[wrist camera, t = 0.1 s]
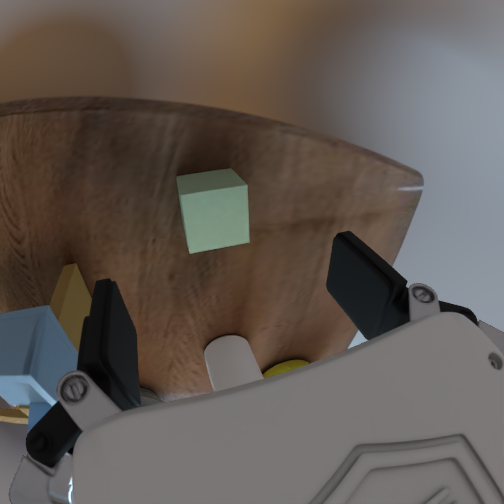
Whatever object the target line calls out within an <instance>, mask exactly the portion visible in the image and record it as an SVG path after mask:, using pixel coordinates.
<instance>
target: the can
mask: <svg viewBox="0 0 504 504" xmlns="http://www.w3.org/2000/svg"><path fill="white" fill-rule="evenodd" d="M204 357H205V361H206V365H207V369H208V372H209V376H210V380H211V383H212V387H213V390H214V392H216V391H220V390H224V389H228V388H232V387H236V386H239V385H243V384H247V383H250V382H254V381H257V380H261V379H264V378H263V376H262V373H261V371H260V369H259V367H258V364H257V362H256V360H255V357H254V355H253V353H252V350H251V348H250V346H249V343H248V342H247V340H246V339H244V338H243V337H240V336H237V335H225V336H221V337H219V338H216V339H215V340H213V341H212V342H210V343H209V345H208V346H207V347H206V349H205V351H204Z"/></svg>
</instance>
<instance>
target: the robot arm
mask: <svg viewBox="0 0 504 504" xmlns="http://www.w3.org/2000/svg"><path fill="white" fill-rule="evenodd" d="M406 284H407V280H406V279H404V278H403V277H402V276H401V275H400V274H399V273H398V272H397V271H396V270H395V269H394V268H392V267H391V266H390V265H389V264H388V263H387V262H386V261H385V260H384V259H382V258H381V257H380V256H379V255H378V254H377V253H376V252H374V251H373V250H372V249H371V248H370V247H369V246H367V245H366V244H365V243H364V242H363V241H361V240H360V239H359V238H358V237H357V236H355V235H354V234H353V233H352V232H350V231H346V232H340V233H338V234H337V235H336V237H334V239H333V246H332V252H331V259H330V265H329V271H328V277H327V283H326V286H327V290H328V291H329V293H330V294H331V295H332V296H333V298H334V299H335V300H336V301H337V303H338V304H339V305H340V306H341V308H342V309H343V310H344V311H345V313H346V314H347V315H348V316H349V318H350V319H351V320H352V322H353V323H354V324H355V325H356V327H357V328H358V329H359V331H360V332H361V333H362V334H363V336H364V337H365V338H366V339H367V340H368V341H366V342H364V343H361V344H359V345H357V346H354V347H352V348H350V349H347V350H344V351H342V352H339V353H337V354H334V355H332V356H329V357H326V358H324V359H321V360H318V361H316V362H313V363H310V364H307V365H304V366H302V367H299V368H296V369H293V370H290V371H287V372H284V373H280V374H277V375H274V376H271V377H267V378H264V379H261V380H257V381H254V382H250V383H247V384H243V385H239V386H236V387H232V388H228V389H224V390H220V391H216V392H211V393H207V394H202V395H198V396H193V397H189V398H184V399H179V400H174V401H169V402H164V403H158V404H153V405H149V406H144V407H139V408H138V407H137V406H138V405H141V396H140V385H139V371H138V354H137V334H136V329H135V327H134V325H133V322H132V320H131V318H130V315H129V313H128V311H127V308H126V306H125V304H124V301H123V299H122V296H121V294H120V291H119V289H118V286H117V283H116V282H115V281H111V279H109V278H108V279H103V280H98V281H96V283H95V288H94V293H93V298H92V303H91V308H90V314H89V316H86V317H85V318H84V321H83V326H82V332H81V339H80V345H79V353H78V361H77V370H76V371H71V372H68V373H67V374H65V375H64V376H63V377H62V378H61V379H60V380H59V382H58V384H57V389H56V393H57V397H58V401H57V402H56V403H55V404H54V405H53V406H52V408H51V409H50V410H49V411H48V412H47V413H46V414H45V415H44V416H43V417H42V418H41V419H40V420H39V421H38V422H37V423H36V424H35V425H34V426H33V428H32V429H31V430H30V431H29V433H28V434H27V437H26V448H27V451H28V454H27V456H24V455H23V457H22V459H21V462H20V464H19V466H18V469H17V471H16V473H15V476H14V478H13V481H12V483H11V486H10V489H9V500H10V502H11V504H72V503H71V499H70V495H71V491H72V488H73V494H74V501H75V504H504V332H502V331H500V330H498V329H496V328H495V327H493V326H491V325H488V324H487V323H485V322H483V321H481V320H479V321H478V322H477V318H476V316H475V315H474V313H473V312H472V311H471V310H470V309H468V308H465V307H462V306H458V305H454V304H450V303H446V302H442V301H438V297H437V294H436V292H435V291H434V290H433V289H432V288H431V287H429V286H427V285H425V284H421V283H416V284H412V285H410V287H409V288H407V287H406ZM71 483H72V485H73V486H72V485H71Z"/></svg>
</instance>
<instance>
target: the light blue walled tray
mask: <svg viewBox="0 0 504 504" xmlns="http://www.w3.org/2000/svg"><path fill="white" fill-rule="evenodd" d="M78 353H79V352H78V351H77V350H76V348H75V347H74V345H73V344H72V342H71V341H70V339H69V338H68V336H67V335H66V333H65V331H64V330H63V328H62V327H61V325H60V323H59V322H58V320H57V318H56V317H55V315H54V313H53V312H52V310H51V308H50V306H49V305H45V306H40V307H34V308H29V309H23V310H17V311H11V312H6V313H0V396H1V397H2V398H3V399H5V400H6V401H7V402H8V403H9V404H10V405H19V409H20V410H15V409H3V408H0V421H4V422H12V423H22V424H28V428H27V434H28V433H29V431H30V430H31V429H32V428H33V426H34V425H35V424H36V423H37V422H38V421H39V420H40V419H41V418H42V417H43V416H44V415H45V414H46V413H47V412H48V411H49V410H50V409H51V408H52V406H53V405H54V404H55V403H56V402H57V401H58V397H57V393H56V389H57V384H58V382H59V380H60V379H61V378H62V377H63V376H64V375H65V374H67V373H68V372H71V371H76V370H77V361H78Z"/></svg>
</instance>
